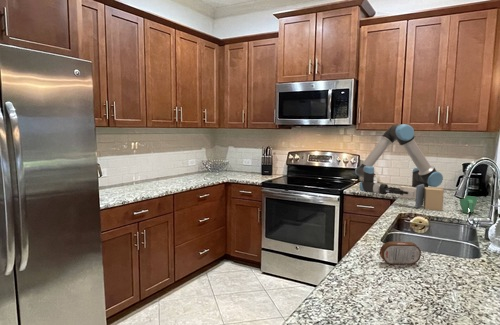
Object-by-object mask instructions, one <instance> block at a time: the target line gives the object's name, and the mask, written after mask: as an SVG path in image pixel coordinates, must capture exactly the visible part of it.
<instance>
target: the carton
mask: <svg viewBox="0 0 500 325" xmlns="http://www.w3.org/2000/svg"><path fill="white" fill-rule="evenodd" d="M444 192H445V190H444V189H443V188H441V187H430V186H428V187H424V199H423V205H422V207H423V206H424V207H423V208H424V210H425V209H429V210H428V211H437V210H440V211H439V212H442V211H443V209H444Z"/></svg>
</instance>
